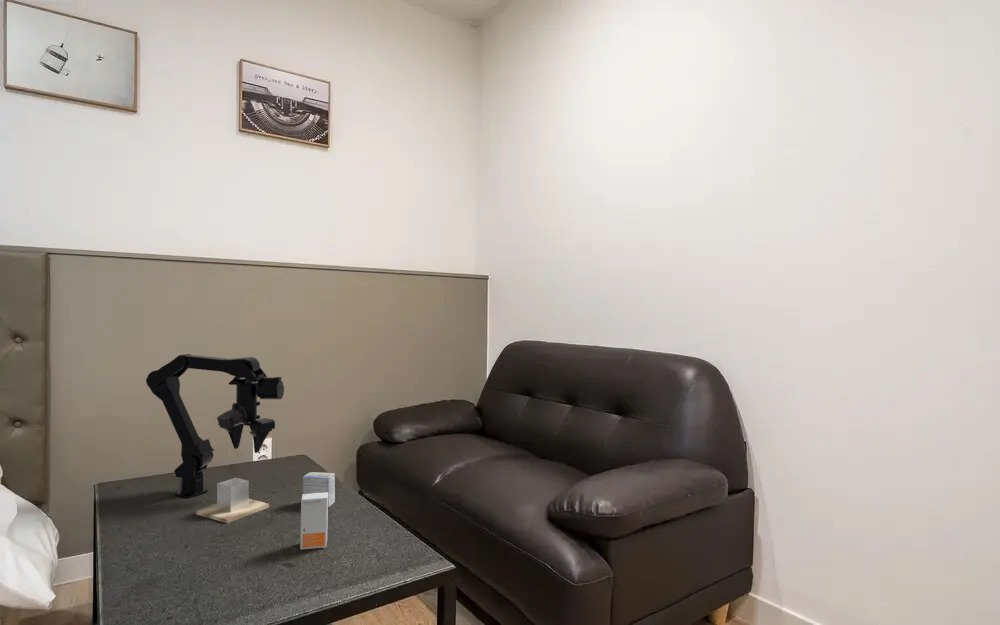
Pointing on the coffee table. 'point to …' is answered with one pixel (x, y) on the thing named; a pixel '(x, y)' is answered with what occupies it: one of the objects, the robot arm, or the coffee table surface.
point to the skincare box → (314, 520)
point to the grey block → (232, 494)
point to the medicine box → (320, 484)
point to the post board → (231, 516)
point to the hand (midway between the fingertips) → (246, 450)
